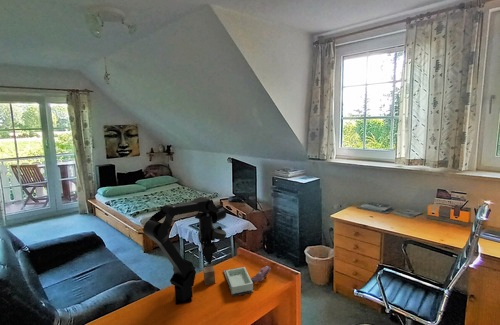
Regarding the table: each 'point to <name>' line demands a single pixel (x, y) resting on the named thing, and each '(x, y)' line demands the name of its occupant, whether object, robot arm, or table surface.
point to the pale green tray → (239, 280)
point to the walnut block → (209, 275)
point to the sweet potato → (261, 274)
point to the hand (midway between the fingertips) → (208, 258)
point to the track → (240, 292)
